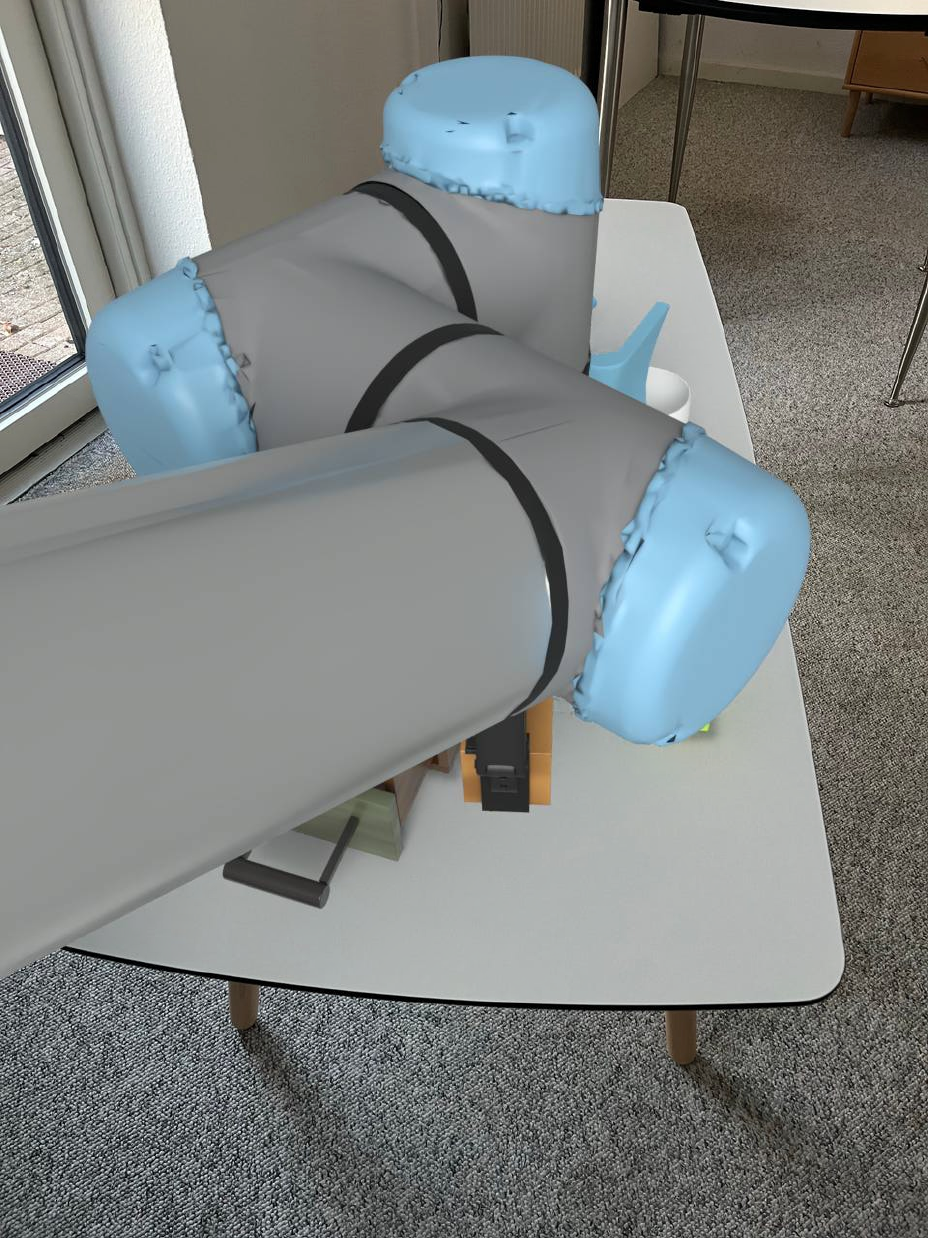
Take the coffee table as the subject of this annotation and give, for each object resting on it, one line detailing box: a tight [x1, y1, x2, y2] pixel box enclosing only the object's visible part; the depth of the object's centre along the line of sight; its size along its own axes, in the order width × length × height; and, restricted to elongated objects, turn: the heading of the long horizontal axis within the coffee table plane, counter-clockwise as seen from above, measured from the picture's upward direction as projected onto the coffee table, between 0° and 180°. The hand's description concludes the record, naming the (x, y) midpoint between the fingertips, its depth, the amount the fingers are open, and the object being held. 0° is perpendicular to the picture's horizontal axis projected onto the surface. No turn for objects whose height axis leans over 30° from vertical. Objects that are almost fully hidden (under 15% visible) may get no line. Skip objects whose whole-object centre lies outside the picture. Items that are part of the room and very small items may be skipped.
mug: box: [646, 366, 692, 424], centre depth 99 cm, size 8×12×12 cm
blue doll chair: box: [589, 301, 670, 405], centre depth 86 cm, size 10×10×25 cm
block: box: [459, 696, 554, 806], centre depth 62 cm, size 5×5×5 cm
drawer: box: [222, 756, 434, 910], centre depth 76 cm, size 20×11×7 cm, turn 160°
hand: (508, 765), depth 64 cm, fingers closed on block, 5 cm apart
